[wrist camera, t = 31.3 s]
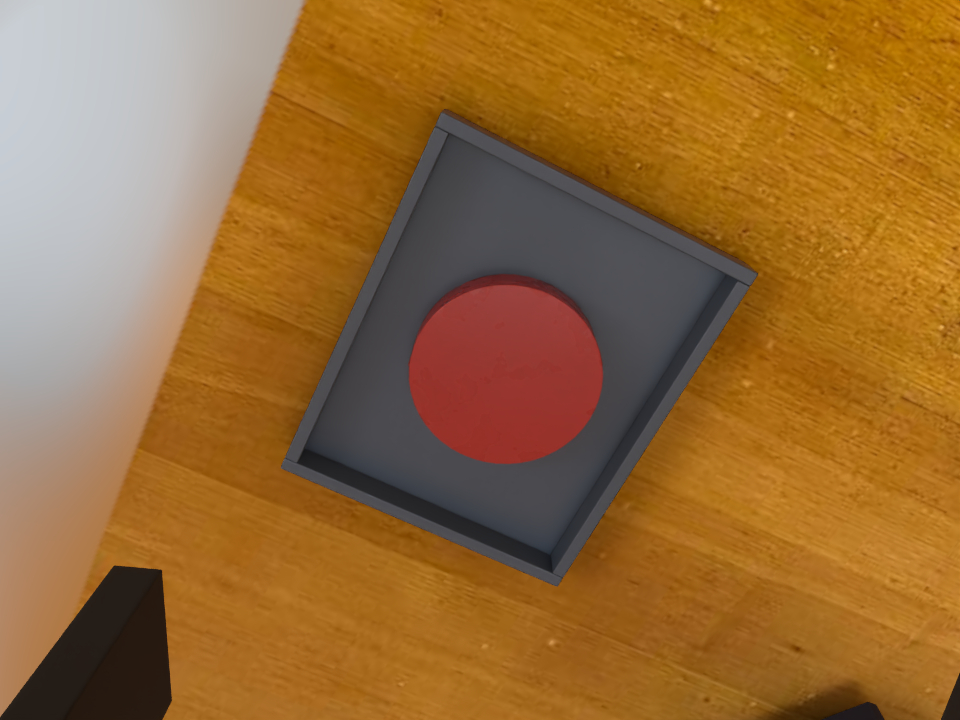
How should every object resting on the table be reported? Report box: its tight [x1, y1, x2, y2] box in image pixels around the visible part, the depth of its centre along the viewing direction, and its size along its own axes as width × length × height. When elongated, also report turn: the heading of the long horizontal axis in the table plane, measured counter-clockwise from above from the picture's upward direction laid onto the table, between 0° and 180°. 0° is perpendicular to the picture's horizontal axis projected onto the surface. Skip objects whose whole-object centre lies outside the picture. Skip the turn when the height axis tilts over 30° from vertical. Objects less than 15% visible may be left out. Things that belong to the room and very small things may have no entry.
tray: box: [281, 109, 758, 586], centre depth 35 cm, size 17×14×2 cm
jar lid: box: [408, 274, 603, 464], centre depth 34 cm, size 8×8×2 cm
